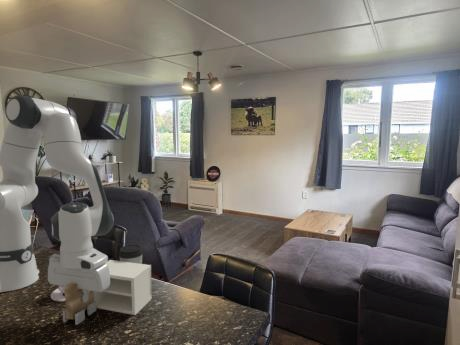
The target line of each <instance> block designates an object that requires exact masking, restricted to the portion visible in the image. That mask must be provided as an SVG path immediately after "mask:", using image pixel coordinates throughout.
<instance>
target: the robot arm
mask: <svg viewBox="0 0 460 345" xmlns="http://www.w3.org/2000/svg"><path fill="white" fill-rule="evenodd" d="M5 106H6V107H5V117H6V118H7V121H8V124H7V126H6V129H5V131H4V135H3V137H2V138H3V139H2V143H1V147H0V167H1V170H2V179H1V181H0V293H4V292H12V291H16V290H20V289H23V288H26V287H28V286H31V285H33V284H34V283H36V282H37V281H38V280H39V279H40V277H39V273H40V269H38V267H37V261H36V257H35V254H34V244H33V242H32V235H31V234H32V233H31V225H30V223H29V221H27V220H26V218H24V215H23V212H22V207H25V206H27V205H29V204H30V203H32V202H33V201H34V200H35V199H36V197H37V196H38V194H39V188H38V185H37V184H36V173H35V172H36V171H35V170H36V165H37V159H38V155H39V150H40V146H41V141H42V137H43V148H44V155H45V158H46V159H45V160H46V162H47V163H48V165H49V166H50V167H51V168H53V169H54V170H56V171H58V172H60V173H63V174H67V175H71V176H74V177H77V178H79V179H82V180H83V181H84V182H85V183H86V184H87V187H88V189H89V193H90V196H91V200H92V202H93V206H89V205H88V204H87V203H84V202H79V201H75V202H73V201H72V202H68V203H65V204H63V205H61V206H60V209H59V211H57V212H56V213H54V214H53V216H51V218H50V222H51V237H52V238H54V239H55V240H57V241H59V242H60V246H59V254H58V253H53V254H52V255H50V256H49V258H48V260H49V263H48V268H47V281H48V283H49V284H50V285H55V286H58V285H60V287H61V286H66V285H68V284H69V283H75V284H77V288H78V289H83V292H84V295H82V296H81V297H80V299H81V300H80V301H81V302H87V301H88V299H89V297H88V295H89V293H90V291H95V292H103V291H104V290H106V289H107V288H108V287H109V285H110V272H109V267H108V265H107V264H106V262H107V261H109V256H108V255H107V254H105V253H103V252H101V251H99V250H98V249H96V248H95V247H94V244H93V242H92V237H93V236H94V237H96V236H97V237H99V236H105V235H107V234H108V233H109V232H110V231H111V230H112V229H113V227H114V226H115V223H114V221H115V220H114V215H113V212H112V210H111V207H110V205H109V202H108V199H107V197H106V196H107V195H106V193H105V189H104V186H103V183H102V179H101V176H100V173H99V170H98V167H97V165H96V163H95V162H94V161H93V160H92V159H89V157H88V156H87V154H85V151H84V150H83V144H82V143H83V142H82V136H81V133H80V132H81V131H80V129H79V124H78V122H77V121H78V120H77V119H78V118H77V115H76V112H75V111H74V110H73V109H72V108H70V107H68V106H66V105H63V104H60V103H57V102H53V101H51V100H47V99H41V98H36V97H31V96H28V95H19V94H18V95H14V96H12V97H11V98H10V99H9V100H8V102H7V103H6V105H5Z"/></svg>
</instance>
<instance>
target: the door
mask: <svg viewBox="0 0 460 345" xmlns="http://www.w3.org/2000/svg"><path fill="white" fill-rule="evenodd" d="M64 289H65V294H64V296H65V301H64V302H65V310H66V318H67V319H69V320H72V321H73V320H75V314H77V313H78V312H79V311H81V310H82V309H83V310H85V311H86V310H87V306H88V305H89V304H90V303H92V302H93V291H90V293H89V295H88V297H89V299H88V301H87V302H81V301H80V300H81V299H80V297H81V296H82V295H84V292H83V289H78V288H77V284H75V283H69V284H68V285H66V286H64Z"/></svg>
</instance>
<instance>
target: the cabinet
mask: <svg viewBox="0 0 460 345" xmlns="http://www.w3.org/2000/svg"><path fill="white" fill-rule="evenodd" d="M106 264H107V265H108V267H109V272H110V285H109V287H108V288H107V289H106V290H104V291H103V292H95V291H93V302H92V303H90V304H89V305H88V306H87V309H86V310H87V316H91V315H92V314H93V313H94V312H96V311H97V309H100V310H106V311H111V312H117V313H121V314H128V315H132V316H136V315H137V314H138V313H139V312H140V311H141V310H142V309H143V308H144V307H145V306H146V305H147V304H148V303H149V302H151V300H152V298H153V297H152V296H153V295H152V264H146V263H142V264H138V263H131V262H123V261H120V260H117V259H116V260H114V259H108V261H107V262H106ZM86 310H83V309H82V310H81V311H79V312H78V313H77V314H75V319H74V322H75V323H74V324H75V325H80V324H81V323H82V322H83V321H84V320H86V315H85V314H86V313H85V311H86ZM69 320H70V319H67V318H66V309H65V310H64V311H63V312H62V323H67V322H68V321H69Z"/></svg>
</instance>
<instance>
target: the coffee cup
mask: <svg viewBox="0 0 460 345" xmlns="http://www.w3.org/2000/svg"><path fill="white" fill-rule="evenodd" d="M143 254H144V251H143V248H142V246H141V245H139V244H127V245H124V246H122V247H121V248H120V249H119V251H118V257H119V261H123V262H131V263H138V264H143Z"/></svg>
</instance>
